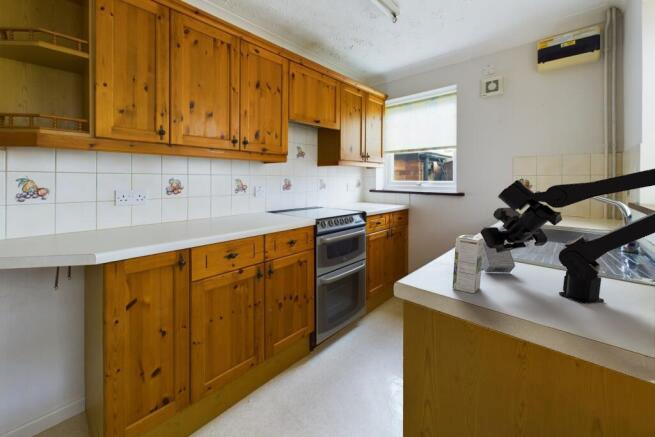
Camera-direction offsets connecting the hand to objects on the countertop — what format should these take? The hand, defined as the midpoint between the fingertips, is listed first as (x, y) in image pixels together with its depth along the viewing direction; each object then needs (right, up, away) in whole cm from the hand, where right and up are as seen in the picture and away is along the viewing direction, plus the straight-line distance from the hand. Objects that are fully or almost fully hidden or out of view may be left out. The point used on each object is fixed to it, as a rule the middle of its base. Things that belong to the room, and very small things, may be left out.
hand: (497, 251), depth 95 cm
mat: (-2, -6, +8) cm, 10 cm away
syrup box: (-15, -9, -12) cm, 22 cm away
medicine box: (+1, -6, 0) cm, 6 cm away
